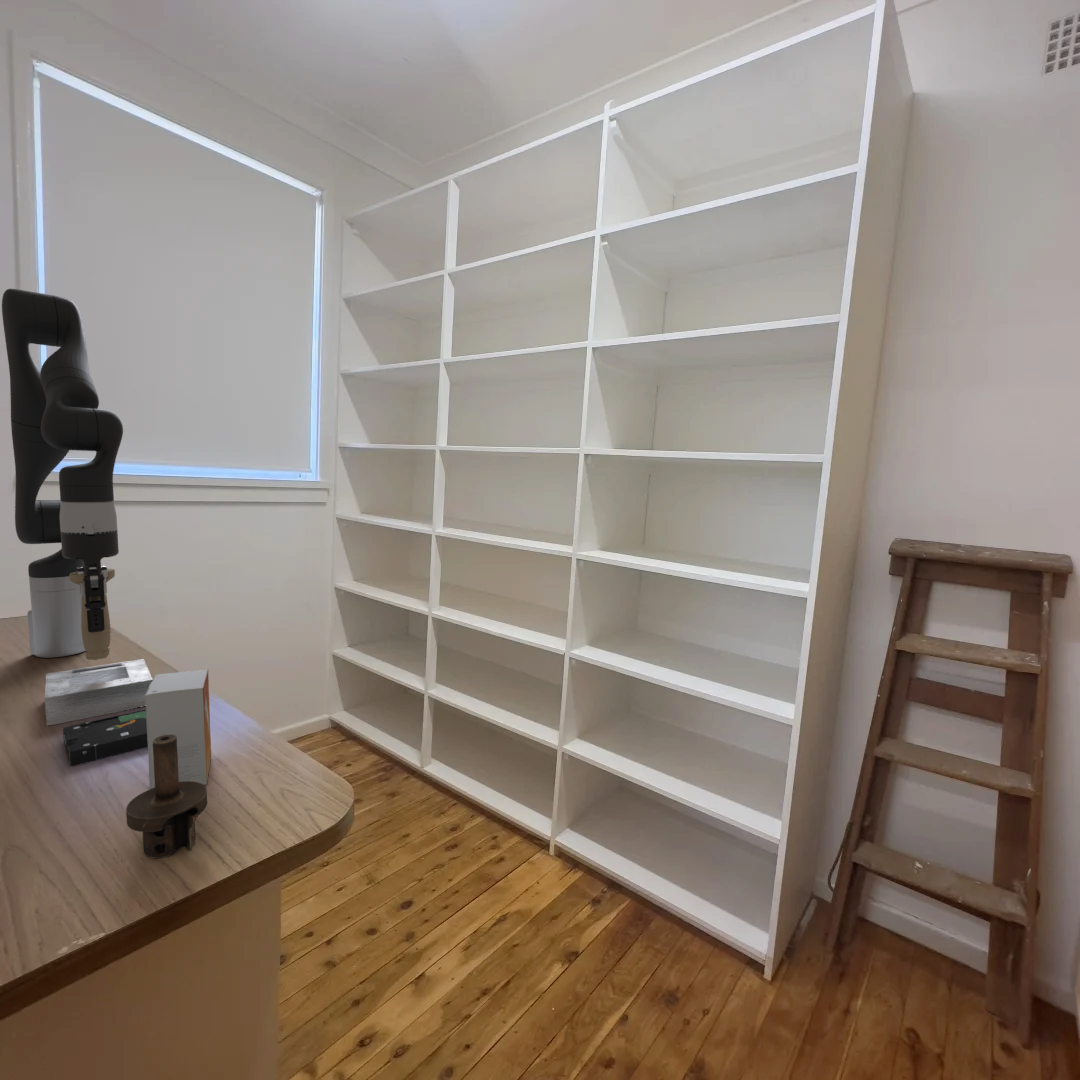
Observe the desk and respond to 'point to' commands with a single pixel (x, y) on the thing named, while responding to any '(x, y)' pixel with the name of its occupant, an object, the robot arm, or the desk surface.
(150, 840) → the industrial component
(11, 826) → the desk surface
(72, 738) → the disk drive
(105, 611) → the handle
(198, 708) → the small box
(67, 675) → the socket block
